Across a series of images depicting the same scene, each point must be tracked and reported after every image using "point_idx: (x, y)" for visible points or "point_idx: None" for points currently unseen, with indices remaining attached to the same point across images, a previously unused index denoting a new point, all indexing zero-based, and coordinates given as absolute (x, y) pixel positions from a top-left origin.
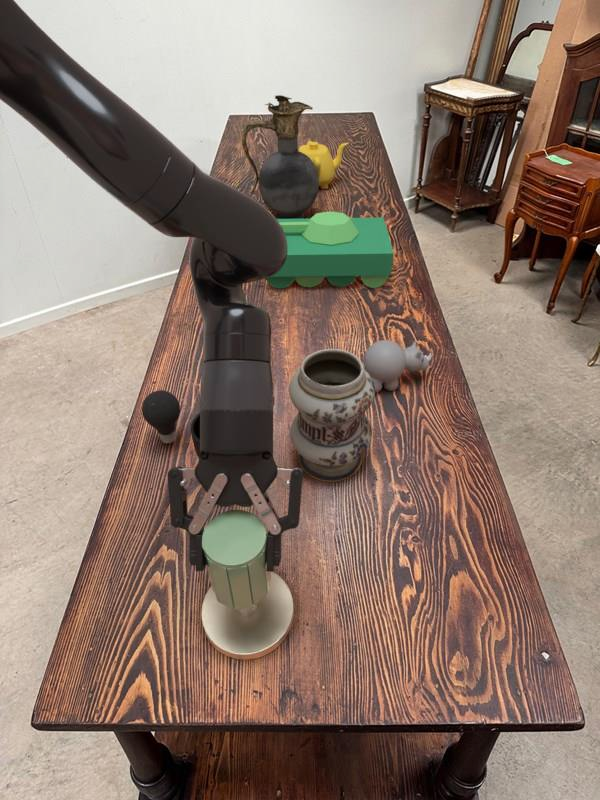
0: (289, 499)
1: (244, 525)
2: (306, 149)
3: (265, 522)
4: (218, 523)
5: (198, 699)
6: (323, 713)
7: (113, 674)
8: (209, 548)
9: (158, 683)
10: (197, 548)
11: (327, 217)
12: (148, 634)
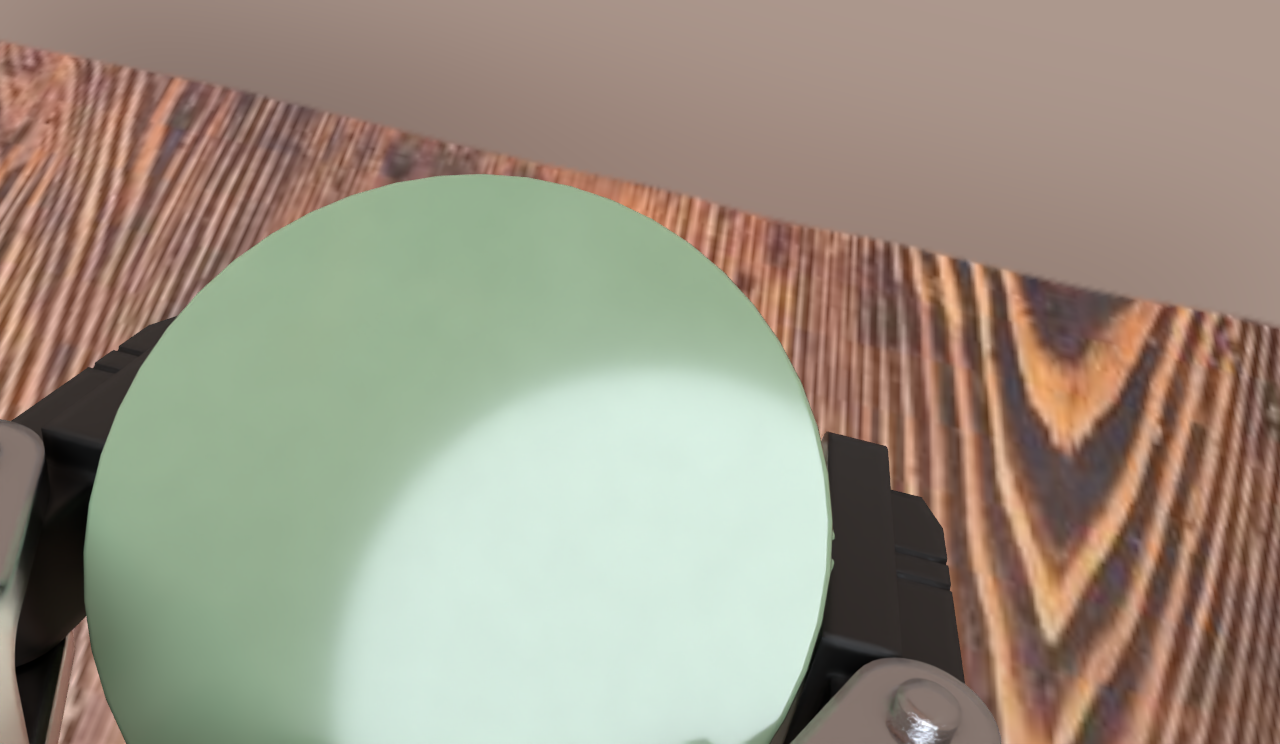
0: None
1: (305, 627)
2: None
3: (14, 538)
4: (612, 741)
5: (833, 294)
6: (376, 142)
7: (1191, 473)
8: (756, 416)
9: (995, 390)
10: (874, 555)
11: None
12: (1053, 617)
